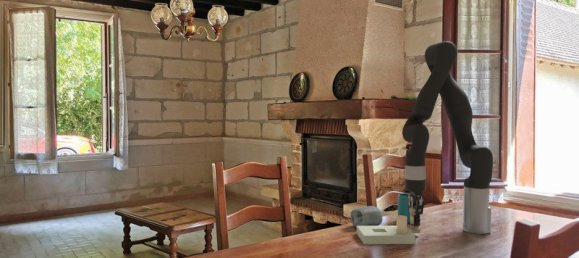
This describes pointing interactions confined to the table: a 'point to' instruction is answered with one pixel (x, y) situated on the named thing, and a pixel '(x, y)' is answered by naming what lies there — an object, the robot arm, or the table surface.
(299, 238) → the table surface
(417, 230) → the peg
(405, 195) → the cup
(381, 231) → the seat board
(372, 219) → the spool
